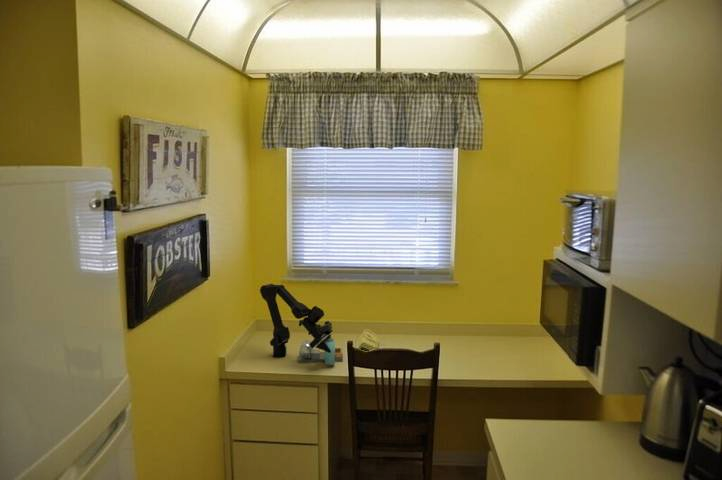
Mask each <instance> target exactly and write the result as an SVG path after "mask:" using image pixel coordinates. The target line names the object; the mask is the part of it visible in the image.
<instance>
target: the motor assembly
mask: <svg viewBox="0 0 722 480" xmlns="http://www.w3.org/2000/svg"><path fill="white" fill-rule="evenodd" d="M311 342H312V341H311V340H309V339H307V340H306V339H305V340H303V341H302V342H301V344H300V347H299V352H298V353H299V354H298V355H299V356H298V359H297V362H298V363H325V351H321V349H319V348H317V349H316V348H311V347H310V343H311ZM343 361H344V360H343V347H335V363H343Z"/></svg>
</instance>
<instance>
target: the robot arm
mask: <svg viewBox="0 0 722 480" xmlns="http://www.w3.org/2000/svg"><path fill="white" fill-rule="evenodd" d="M259 293H260V295H261V297H262V299H263V300H264V301H265V302H266V304H267V308H268V311H269V315H270V318H271V322H272V325H273V332H272V335H273V337H272V338H271V340H270V341H269V343H270V344H269V346H271V347H272V351H273V352H272V354H273V355H272V358H285V357H286V355H287V353H288V352H287V351H288V350H287V345H286V344H287V343H289V341H290V337H291V332H290V330H289V329H290V328H289V327H288V326H285V325H284V323H283V320H282V317H281V313H280V310H279V307H278V306H279V305H278V303H277V296H279V297H280V298H281V299H282V301H284V303H286V305H288V307H289V308H290V310H291V313H292V315H293V316H294V318H295V319H297V320H299V321H298V327H301V326H303V327H304V329H305V330H306V331H307V332H308V335H309V336H310V335H311V337H312V338H313V340H312V341H311V343H310V347H311V348H313V349H316V348H317V349H320V350H322V351H323V352H325V351H326V352H328V353H330V352H331V350H330V349H329V347H328V346H327V345H326V343H325V340H326V339H327V338H332V332H334V331H333V326H332V325H333V323H331V322H330V321H329V320H326V321H325V322H324V324H322V325H321V324H317V323H318V322H319V321H320V320H321V319H322V318H323V317H325V311H324V310H323V309H322V308H320V307H318V306H317V305H315V306H312V308H309V307H308V306H307V305H305V304H304V303H303V302H300V301H298V300H297V298H295V297H294V296H293V295H292V294H291V293H290V291H288V290H287V288H286V287H285V285H284V284H274V283H268V284H264V285H261V286H260V289H259ZM302 318H303V319H302Z"/></svg>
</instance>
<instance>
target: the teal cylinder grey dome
mask: <svg viewBox="0 0 722 480" xmlns="http://www.w3.org/2000/svg"><path fill="white" fill-rule="evenodd" d="M325 343H326V345H327V346H328V347H329V349H330V350H331V352H330V353H328V352H326V351H324V352H325V362H324V365H330V366H331V365H334V364H336V362H335V348H336V340H335V339H334V338H333V337H331V338H327V339H326V340H325Z"/></svg>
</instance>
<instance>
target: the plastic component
mask: <svg viewBox="0 0 722 480" xmlns="http://www.w3.org/2000/svg"><path fill="white" fill-rule="evenodd" d="M378 346H379V335H377V333H375V332H373V331H372V330H370V329H368V328H365V329H364V330H363V331H362V333H361V334H360V336H359V337H358V340H357V342H356V346H355V349H356V348H359V350H361V349H362V348H364V349H366V350H367V351H370V350H372V349H376V350H377V349H378Z"/></svg>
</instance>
